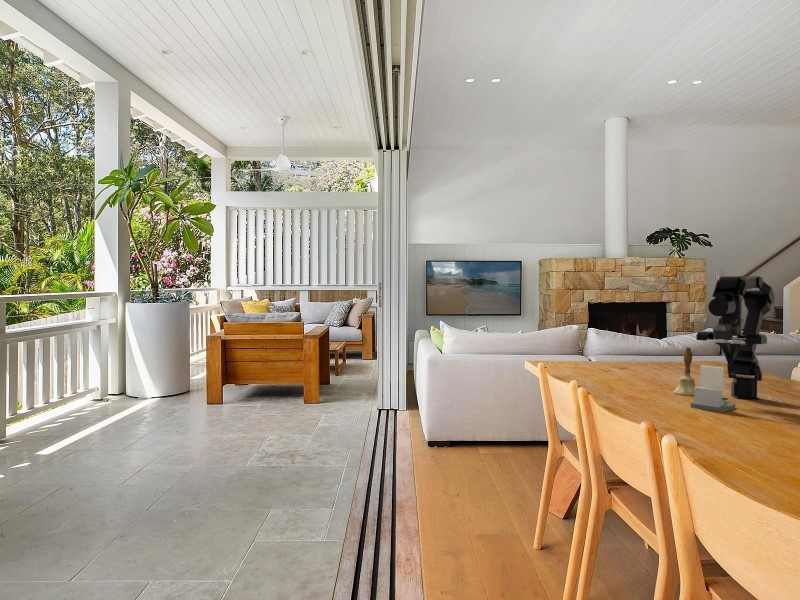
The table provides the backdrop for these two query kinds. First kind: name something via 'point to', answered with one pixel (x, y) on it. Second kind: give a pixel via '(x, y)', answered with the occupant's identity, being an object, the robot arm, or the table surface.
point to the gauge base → (710, 400)
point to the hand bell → (686, 377)
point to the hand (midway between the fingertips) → (730, 364)
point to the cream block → (713, 379)
